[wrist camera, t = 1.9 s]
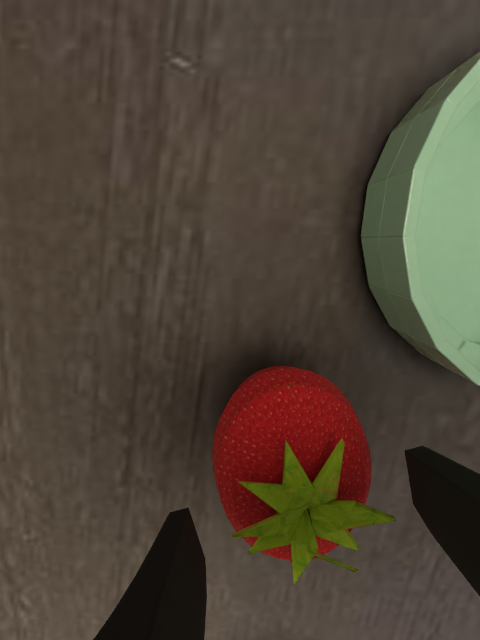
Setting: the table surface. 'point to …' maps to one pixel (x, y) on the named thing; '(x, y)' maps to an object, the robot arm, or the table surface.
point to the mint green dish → (431, 224)
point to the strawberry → (293, 466)
